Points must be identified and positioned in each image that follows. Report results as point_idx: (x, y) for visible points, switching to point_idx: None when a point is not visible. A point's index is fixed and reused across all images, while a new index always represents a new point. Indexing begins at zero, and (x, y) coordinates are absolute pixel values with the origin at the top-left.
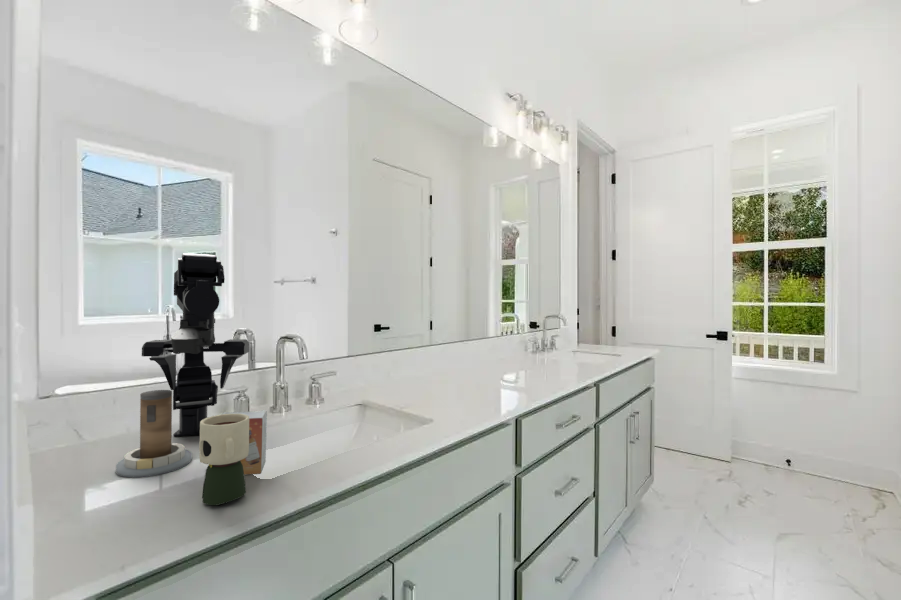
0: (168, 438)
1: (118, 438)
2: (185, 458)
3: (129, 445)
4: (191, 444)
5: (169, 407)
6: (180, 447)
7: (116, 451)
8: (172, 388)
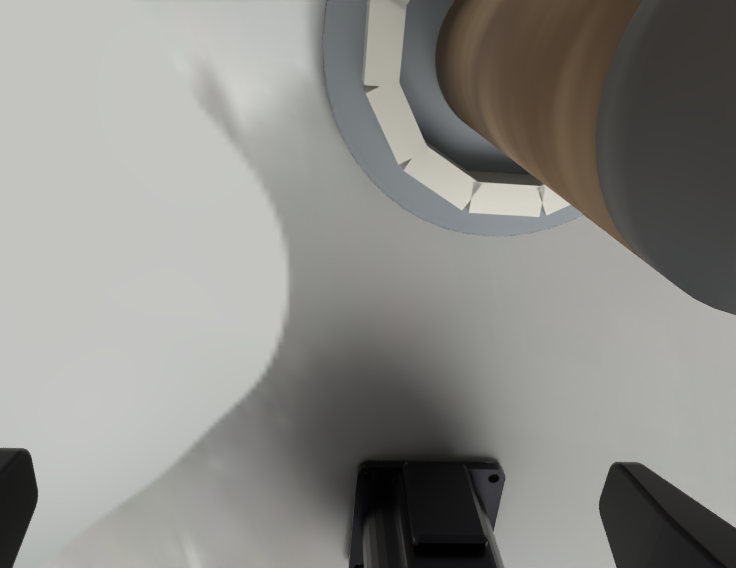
0: (472, 22)
1: (733, 487)
2: (343, 10)
3: (676, 386)
4: (388, 339)
5: (556, 44)
6: (395, 97)
7: (722, 315)
8: (629, 472)
